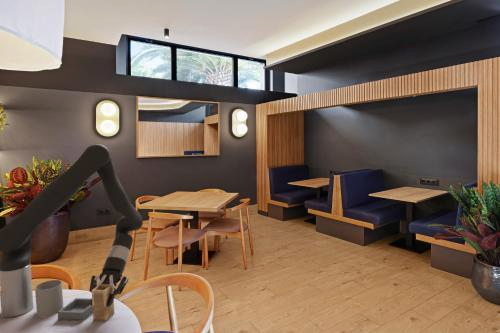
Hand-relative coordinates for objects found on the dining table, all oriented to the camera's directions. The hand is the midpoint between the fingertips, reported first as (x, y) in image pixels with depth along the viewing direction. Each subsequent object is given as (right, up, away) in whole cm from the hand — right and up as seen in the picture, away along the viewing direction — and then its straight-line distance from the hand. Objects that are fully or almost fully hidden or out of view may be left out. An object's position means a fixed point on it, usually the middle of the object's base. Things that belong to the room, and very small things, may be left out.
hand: (100, 305), depth 105 cm
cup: (-23, -5, +8) cm, 25 cm away
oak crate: (0, -5, +2) cm, 6 cm away
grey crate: (-10, -5, +5) cm, 13 cm away
